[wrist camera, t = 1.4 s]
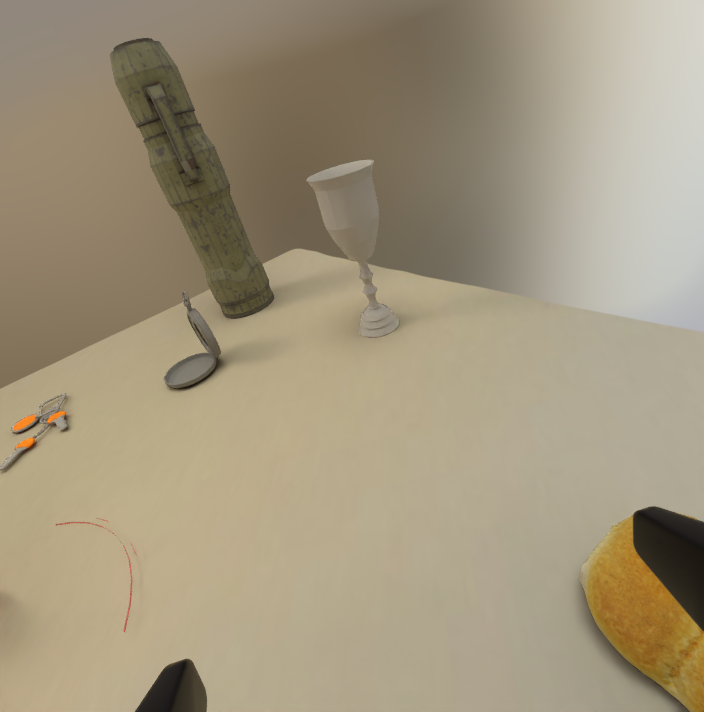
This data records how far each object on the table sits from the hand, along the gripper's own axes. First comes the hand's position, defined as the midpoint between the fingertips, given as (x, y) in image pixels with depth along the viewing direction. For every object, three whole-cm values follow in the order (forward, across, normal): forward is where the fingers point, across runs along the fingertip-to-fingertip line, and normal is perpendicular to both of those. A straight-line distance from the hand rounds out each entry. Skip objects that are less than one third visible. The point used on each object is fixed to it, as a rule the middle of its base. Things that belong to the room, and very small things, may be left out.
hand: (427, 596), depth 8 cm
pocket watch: (+45, +15, +5) cm, 48 cm away
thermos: (+61, +9, 0) cm, 62 cm away
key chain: (+45, +35, +7) cm, 57 cm away
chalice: (+40, -8, +4) cm, 42 cm away
